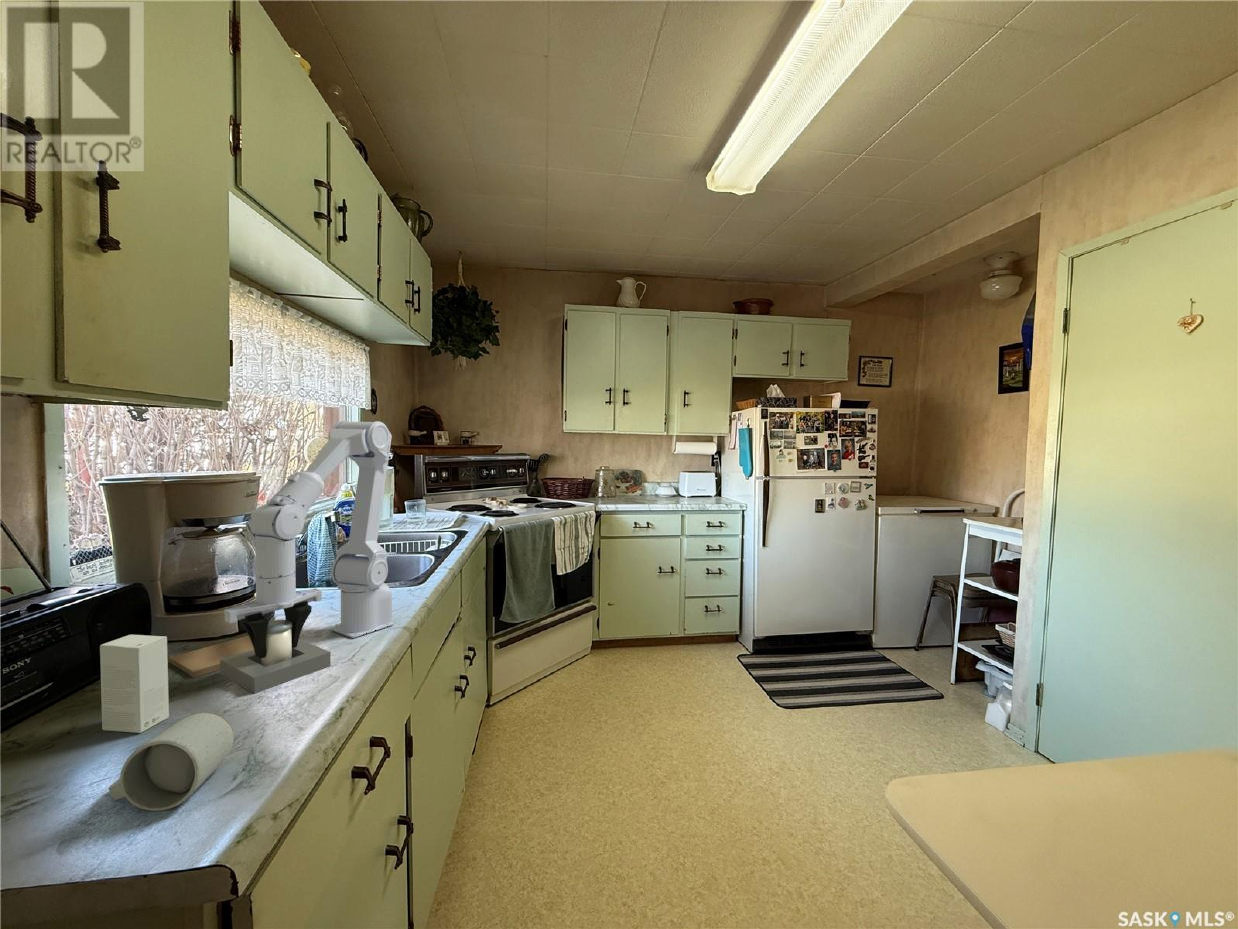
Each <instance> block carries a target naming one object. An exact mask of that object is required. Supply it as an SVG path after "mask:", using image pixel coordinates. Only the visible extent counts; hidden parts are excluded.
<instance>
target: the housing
mask: <svg viewBox="0 0 1238 929" xmlns="http://www.w3.org/2000/svg"><path fill="white" fill-rule="evenodd" d="M328 667H331V651H329V650H327V649H324V648H323V647H320V646H317V645H315V644H312V643H310V642H308V641H305V640H303V639H300V638H299V640H298V644H297V647H295V648H292V658H291V659H288V660H285V661H282V662H279V663H276V664H273V665H270V666H267V667H264V666H262V665H261V658H259V657H257V656H255V651H254V649H253V650H250V651H247V652H243V653H240V654H237V655H233V656H230V657H227V658H224V659H220V669H219V670H220V671H219V672H220V675H222V676H223V677H225V678H227V679H228V680H230V681H232V682H234V683H235V684H237V685H239V686H240V687H242V688H244V689H246V690H248V691H249V692H251V693H253V694H256V693H261V692H263V691H265V690H267V689H268V690H269V689H271V688H273V687H277V686H278V685H281V684H286V683H287V682H289V681H292V680H294V679H298V678H301V677H303V676H305V675H309V674H311V673H314V672H317V671H320V670H323V669H325V668H328Z"/></svg>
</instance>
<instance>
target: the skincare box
mask: <svg viewBox="0 0 1238 929" xmlns="http://www.w3.org/2000/svg"><path fill="white" fill-rule="evenodd" d="M99 656H100V657H99V658H100V665H99V666H100V692H101V694H100V695H101V697H100V698H101V699H100V701H101V729H102V731H110V732H111V731H112V732H123V733H136V734H140V733H143V732H145V731H147V730H149V729H151V728H152V727H154V726H155V725H157V724H159V723H162V722H164V721H165V720H167V719H169V717H170V709H169V708H170V706H169V702H170V701H169V673H168V672H169V671H168V666H169V664H168V637H167V635H165V636H162V635H161V636H160V635H144V634H128V635H125V636H122V637H120V638H117V639H114V640H111V641H108V642H105V643H103V644H100V646H99Z"/></svg>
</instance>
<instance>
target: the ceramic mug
mask: <svg viewBox="0 0 1238 929" xmlns="http://www.w3.org/2000/svg"><path fill="white" fill-rule="evenodd" d="M234 742H235V735H234V729H233V727H232V725H231V724H230V722H229V721H228V720H227V719H226V718H225V717H224V716H221V715H220V714H217V713H211V712H200V713H195V714H192V715H190V716H187V717H185V718H182V719H181V720H179V721H177V722H175V723H174V724H172V725H171V726H170V727H168V728H167V729H165V730H164V731H163V732H161V733H159V734H158V735H157V736H155V737H153V738H152V739H150V740H149V741H147V742H145V743H143V744H142V745H141V746H140V747H138V748H137V749H135V750H134V751H133V752H132V753H131V754H130V755H128V757H127V758H126V761H125V762H124V764H123V766H122V768H121V771H120V774H119V775H120V776H119V778H118V779H116V781H114V782H113V783H111V785H110V786H109V787H108V791H109V794H110V796H111V797H112V799H113V800H114V801H118V800H121V799H124V798H125V799H126V800H127V801H128V802H129V803H131V805H133V806H135V807H137V808H139V809H141V810H145V811H148V812H149V811H150V812H161V811H167V810H170V809H173V808H176V807H177V806H179V805H181V804H183V802H185V801H187V800H188V798H190V796H192V795H193V793H194V792H195V791H197V790H198V788H199V787H200V786H202V784H203V783H204V782H205V781H206V780H207V779H208V778H209V777H210V776H211V775H212V774H213V773H214V772H215V771H216V770H217V768H219V767H220V766H221V765H222V764H223V762H224V761H225V760H226V758H228V756H229V755H230V752H231V750H232V748H233V746H234Z"/></svg>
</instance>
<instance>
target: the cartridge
mask: <svg viewBox="0 0 1238 929" xmlns="http://www.w3.org/2000/svg"><path fill="white" fill-rule="evenodd" d="M291 658H292V621H291V620H286V619H276V620H275V619H274V620H271V621H269V623H268V628H267V634H266V657H264V658H261V665H262V666H264V667H267V666H270V665H273V664H276V663H279V662H282V661H285V660H288V659H291Z"/></svg>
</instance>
